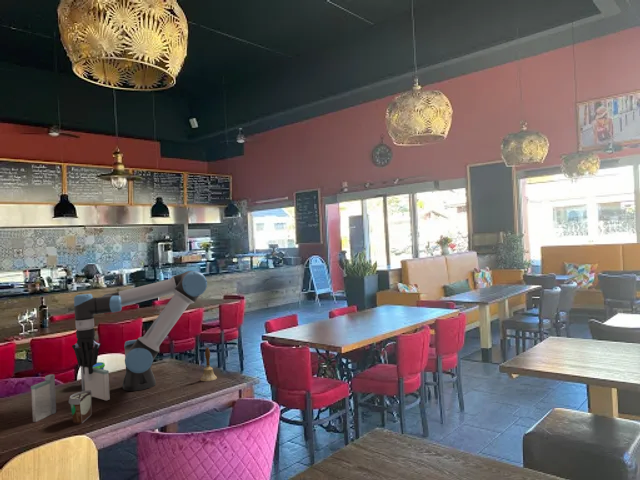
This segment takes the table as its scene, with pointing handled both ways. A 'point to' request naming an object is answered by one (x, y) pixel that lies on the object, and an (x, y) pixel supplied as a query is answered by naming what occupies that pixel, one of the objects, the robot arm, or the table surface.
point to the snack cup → (99, 365)
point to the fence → (46, 397)
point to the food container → (80, 406)
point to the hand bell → (208, 369)
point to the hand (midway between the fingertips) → (88, 381)
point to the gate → (99, 384)
